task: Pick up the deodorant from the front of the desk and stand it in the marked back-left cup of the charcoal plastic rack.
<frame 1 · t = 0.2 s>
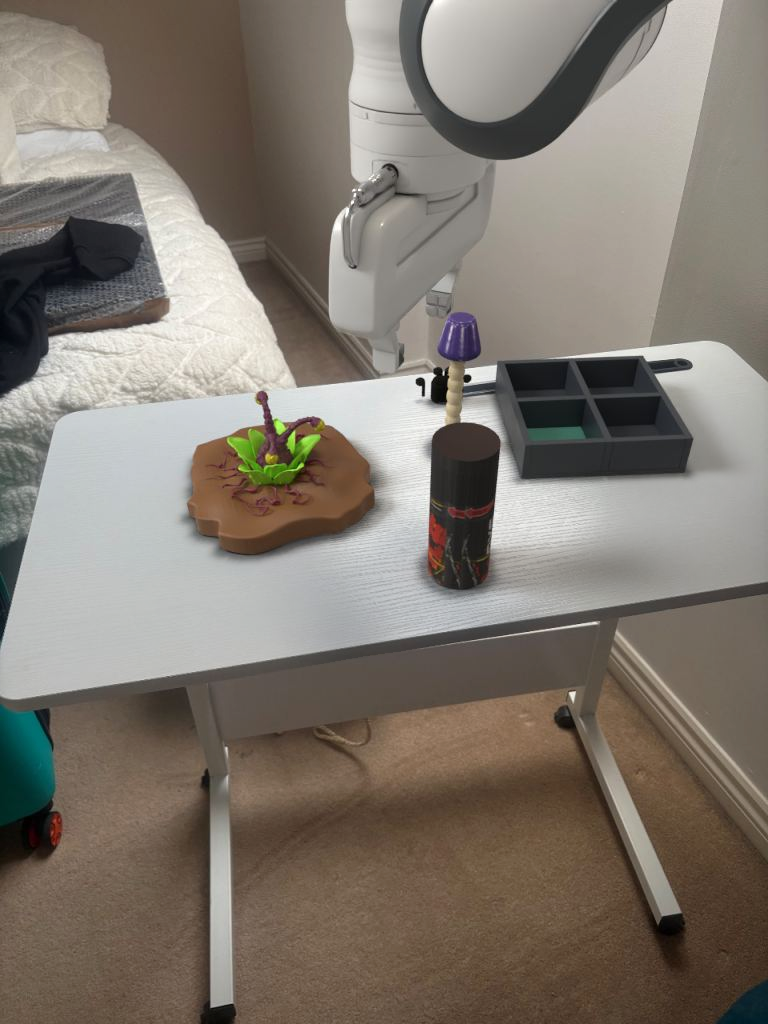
hand: (415, 339, 62), 26 cm above the table, tool pointing down, fingers open, 8 cm apart
rack: (583, 429, 99), on the table
deodorant: (457, 569, 81), on the table
plant: (278, 489, 91), on the table
wireless earbuds: (443, 405, 104), on the table
toy lamp: (453, 451, 96), on the table
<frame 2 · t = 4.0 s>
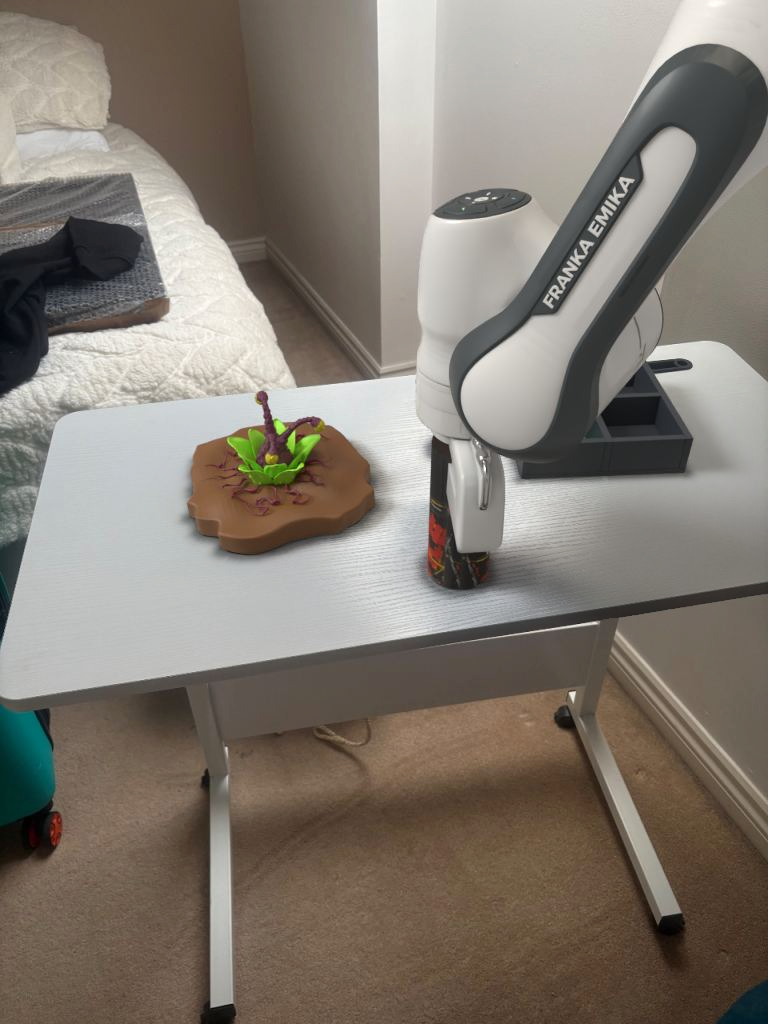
hand: (460, 521, 77), 6 cm above the table, tool pointing down, fingers closed on deodorant, 6 cm apart
deodorant: (457, 570, 81), on the table, touching gripper
everything else where it was.
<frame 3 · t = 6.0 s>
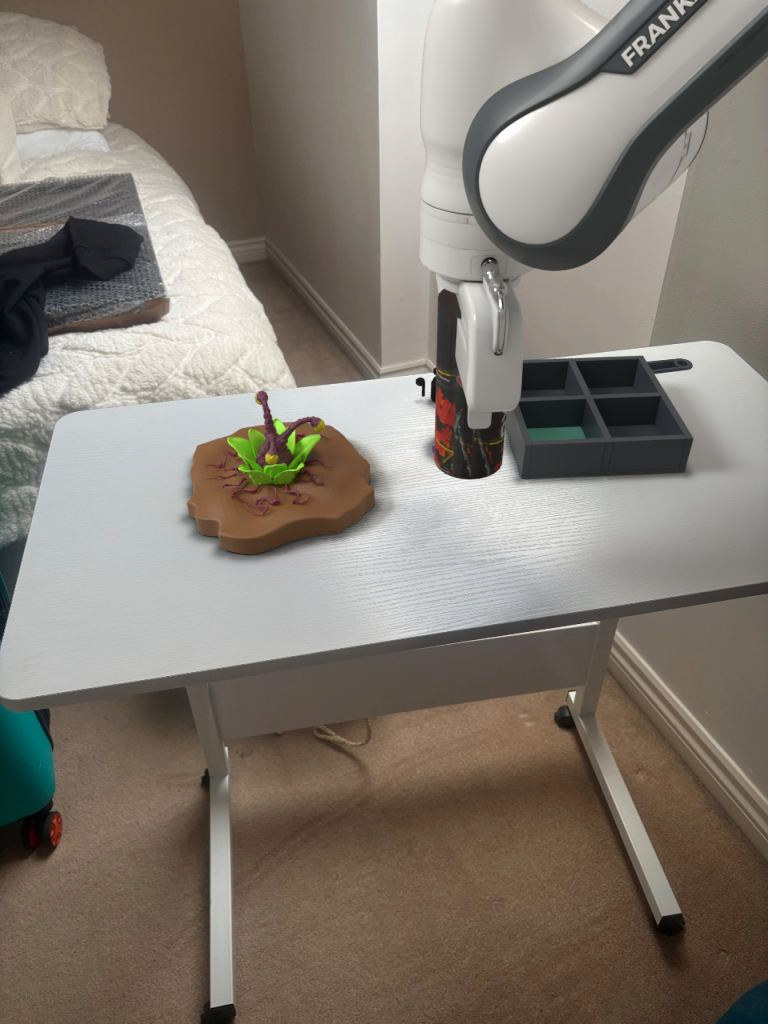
hand: (471, 400, 69), 19 cm above the table, tool pointing down, fingers closed on deodorant, 6 cm apart
deodorant: (468, 461, 72), point 13 cm above the table, touching gripper
everything else where it was.
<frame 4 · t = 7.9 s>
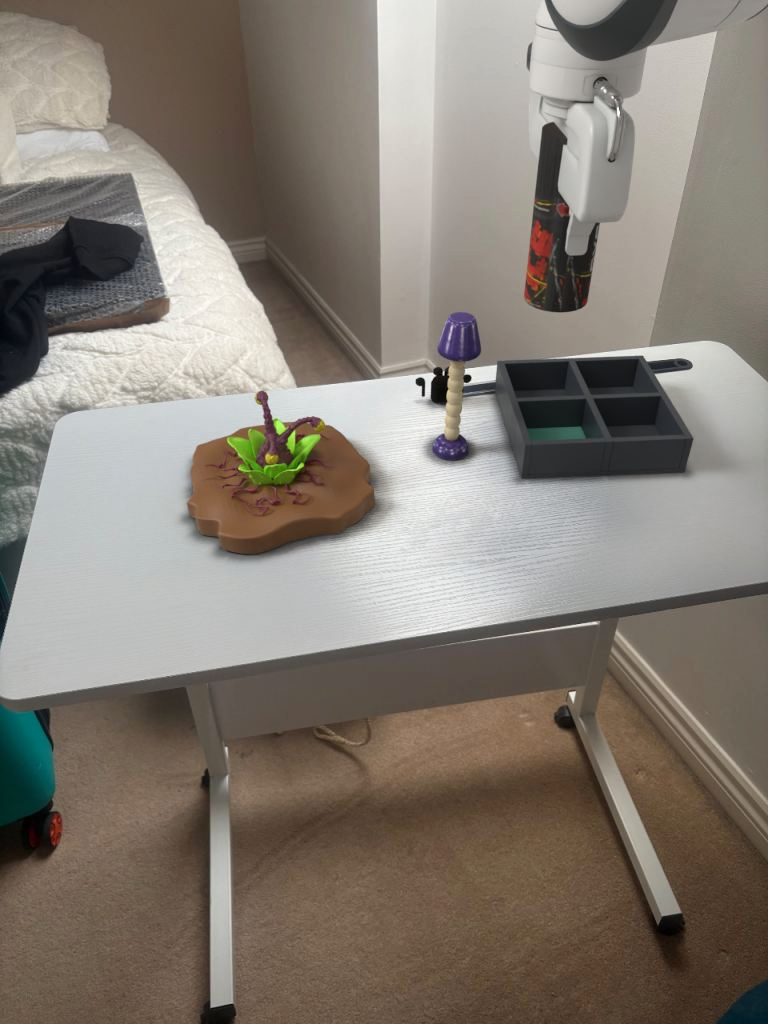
hand: (564, 236, 75), 27 cm above the table, tool pointing down, fingers closed on deodorant, 6 cm apart
deodorant: (555, 300, 79), point 21 cm above the table, touching gripper
everything else where it was.
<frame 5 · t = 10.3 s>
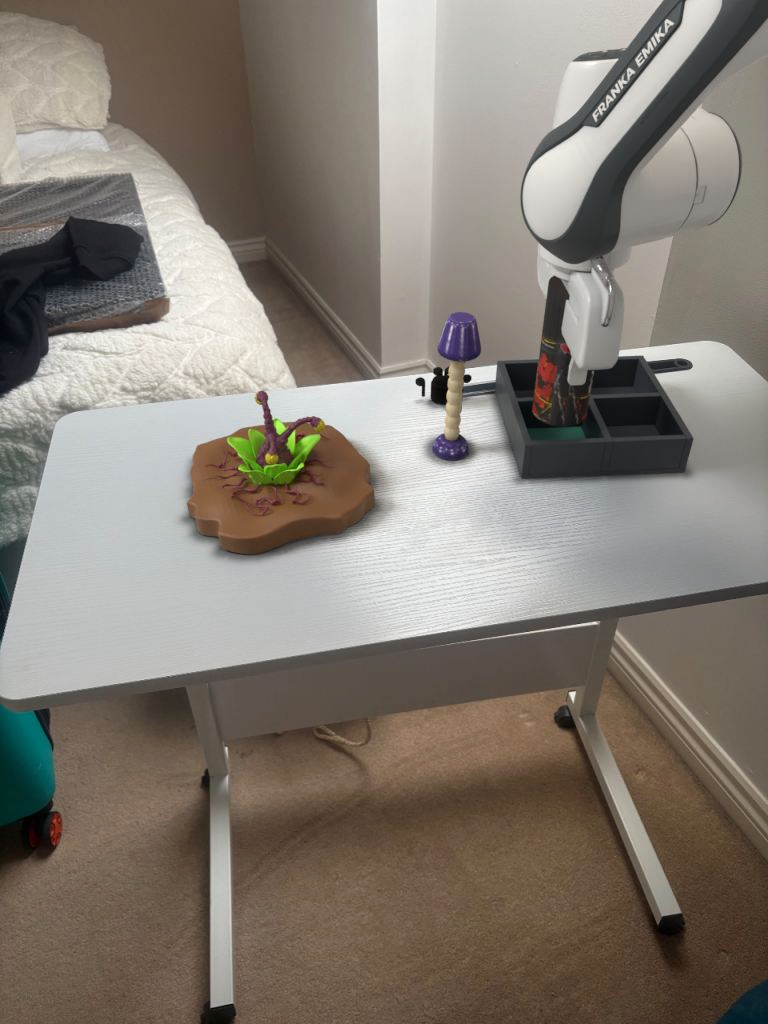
hand: (566, 364, 88), 12 cm above the table, tool pointing down, fingers closed on deodorant, 6 cm apart
deodorant: (558, 413, 92), point 5 cm above the table, touching gripper
everything else where it was.
when the fingers open (7 cm above the table, at t = 12.0 s): deodorant stays where it is, resting on rack.
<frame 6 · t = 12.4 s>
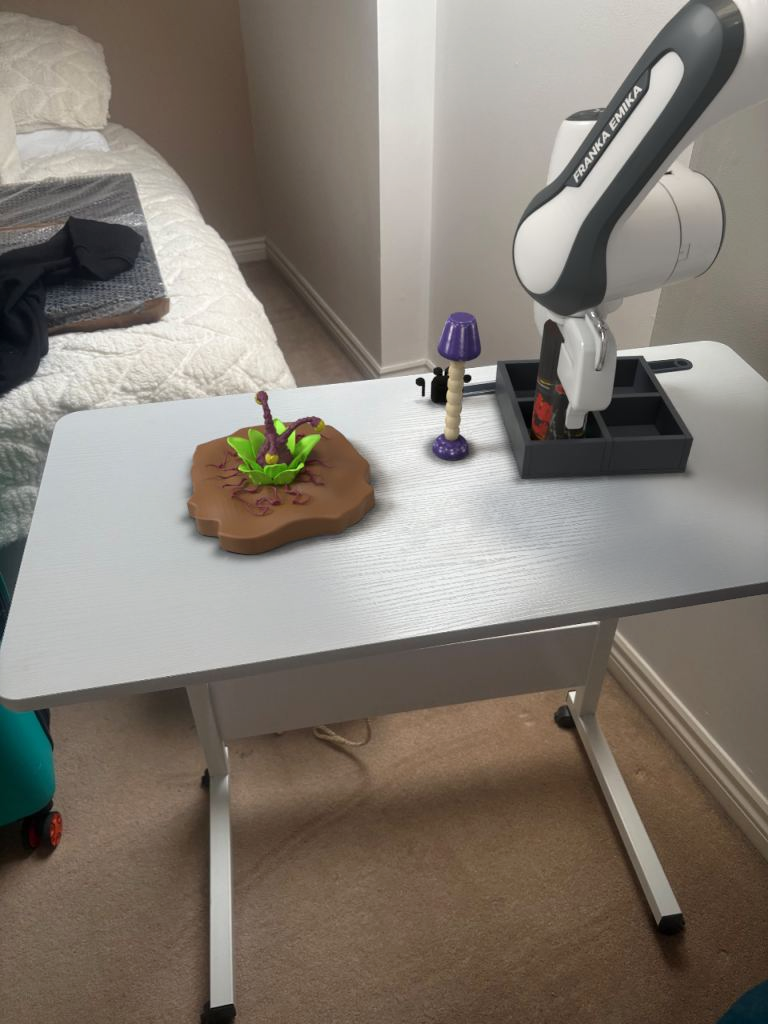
hand: (562, 401, 91), 7 cm above the table, tool pointing down, fingers open, 8 cm apart
deodorant: (554, 448, 95), point 1 cm above the table, touching rack
everything else where it was.
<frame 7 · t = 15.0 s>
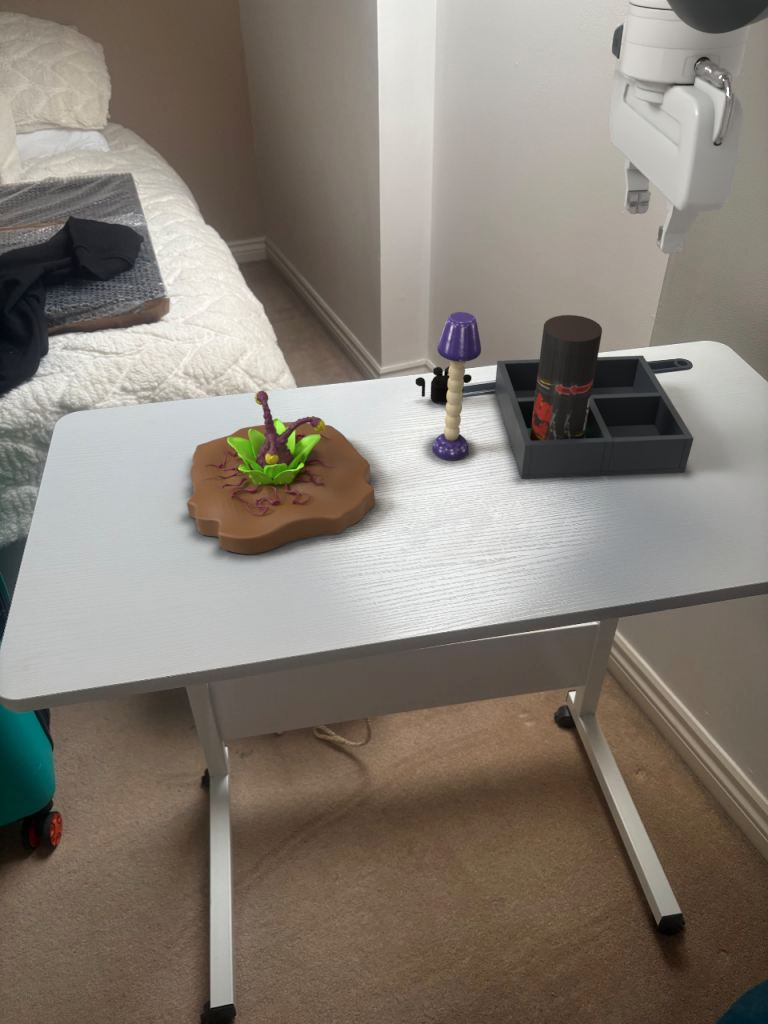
hand: (651, 229, 71), 29 cm above the table, tool pointing down, fingers open, 8 cm apart
nothing on the table moved.
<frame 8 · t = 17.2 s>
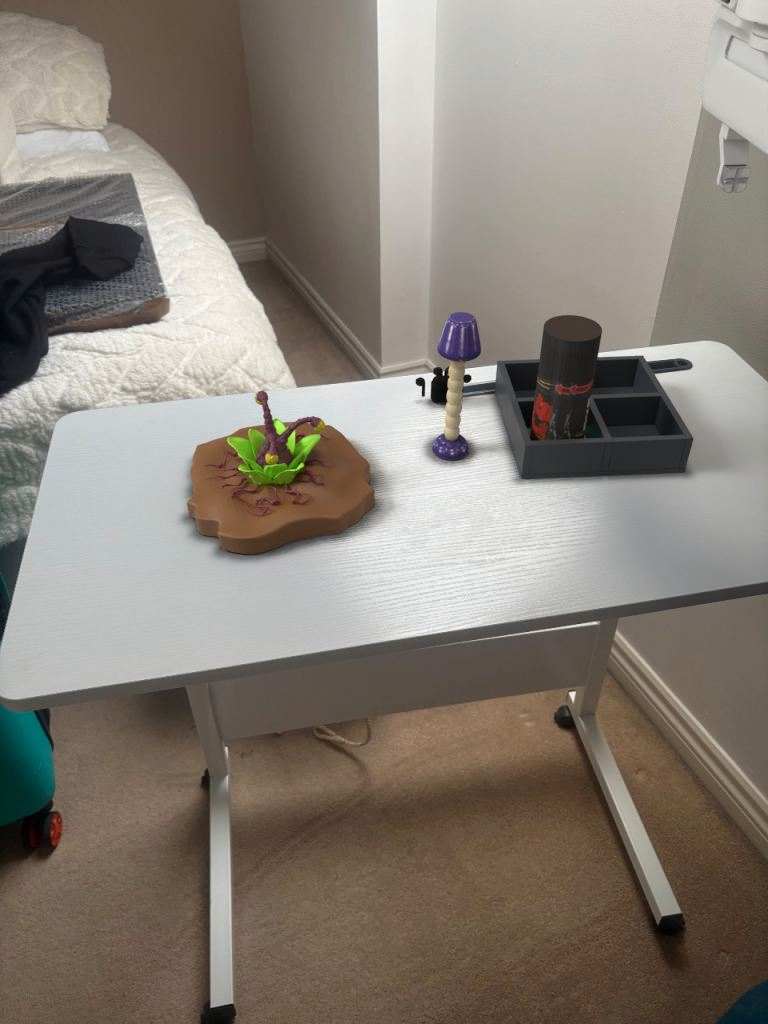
hand: (754, 211, 60), 34 cm above the table, tool pointing down, fingers open, 8 cm apart
nothing on the table moved.
at the end: deodorant 0.1 cm from the target spot in the rack, point 0.6 cm above the rack's base; deodorant tilted 0° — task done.
